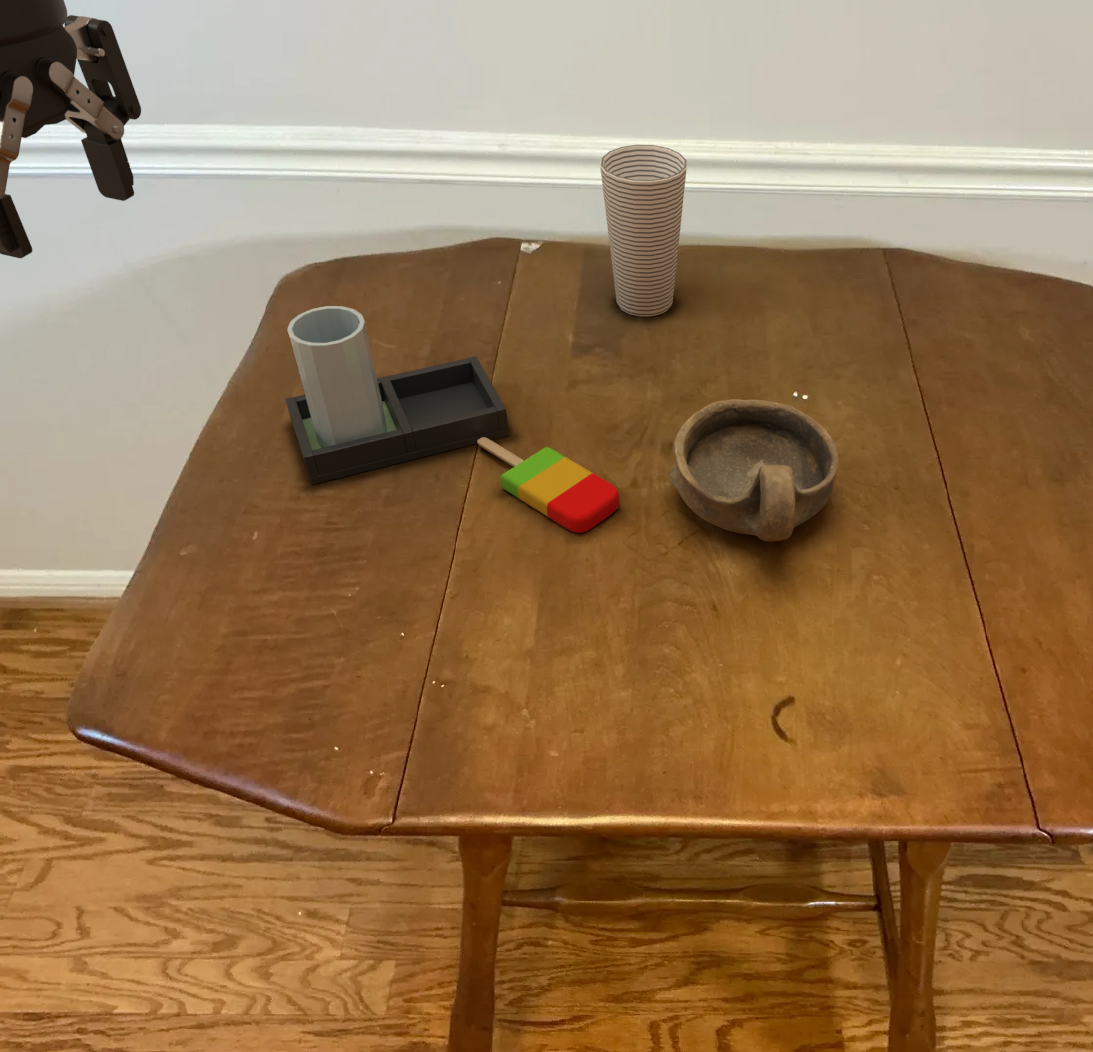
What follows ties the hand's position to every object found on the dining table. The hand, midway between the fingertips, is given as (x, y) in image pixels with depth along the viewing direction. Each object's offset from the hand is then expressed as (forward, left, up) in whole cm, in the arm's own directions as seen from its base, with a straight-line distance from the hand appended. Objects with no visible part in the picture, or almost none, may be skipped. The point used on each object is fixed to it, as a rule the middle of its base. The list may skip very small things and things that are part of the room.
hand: (69, 224), depth 66 cm
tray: (+18, +9, -28) cm, 34 cm away
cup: (+47, +21, -28) cm, 59 cm away
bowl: (+42, -14, -28) cm, 53 cm away
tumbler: (+14, +9, -27) cm, 31 cm away
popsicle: (+27, -3, -28) cm, 39 cm away
